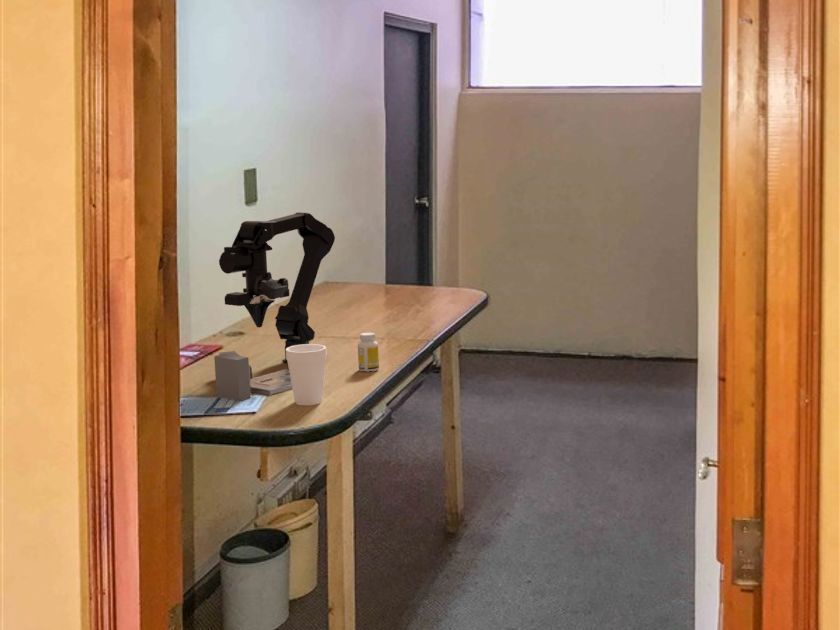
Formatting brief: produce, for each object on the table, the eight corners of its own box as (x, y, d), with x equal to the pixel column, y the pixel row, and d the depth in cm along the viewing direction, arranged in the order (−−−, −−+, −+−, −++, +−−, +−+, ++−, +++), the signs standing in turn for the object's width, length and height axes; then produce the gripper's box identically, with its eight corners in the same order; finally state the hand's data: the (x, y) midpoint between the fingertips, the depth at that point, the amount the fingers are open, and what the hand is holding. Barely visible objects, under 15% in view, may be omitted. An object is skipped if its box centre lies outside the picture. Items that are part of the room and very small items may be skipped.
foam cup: (283, 400, 249) (281, 346, 247) (320, 395, 253) (318, 342, 250) (295, 409, 241) (293, 354, 238) (333, 403, 244) (331, 349, 242)
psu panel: (285, 373, 276) (284, 368, 276) (321, 379, 268) (321, 373, 268) (233, 388, 262) (233, 382, 261) (270, 395, 254) (270, 389, 254)
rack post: (227, 393, 257) (225, 353, 255) (250, 397, 252) (248, 357, 250) (216, 396, 254) (214, 356, 252) (239, 400, 249) (237, 360, 248)
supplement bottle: (381, 368, 280) (380, 332, 278) (375, 372, 275) (374, 336, 273) (362, 367, 281) (361, 331, 279) (355, 371, 276) (354, 335, 274)
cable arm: (220, 375, 275) (218, 351, 273) (236, 374, 276) (234, 349, 275) (237, 395, 254) (235, 368, 253) (254, 393, 255) (253, 367, 254)
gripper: (251, 275, 263) (255, 336, 265) (303, 266, 277) (305, 324, 280) (221, 272, 269) (225, 332, 272) (273, 264, 284) (276, 320, 287)
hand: (259, 327), depth 278 cm, fingers closed
